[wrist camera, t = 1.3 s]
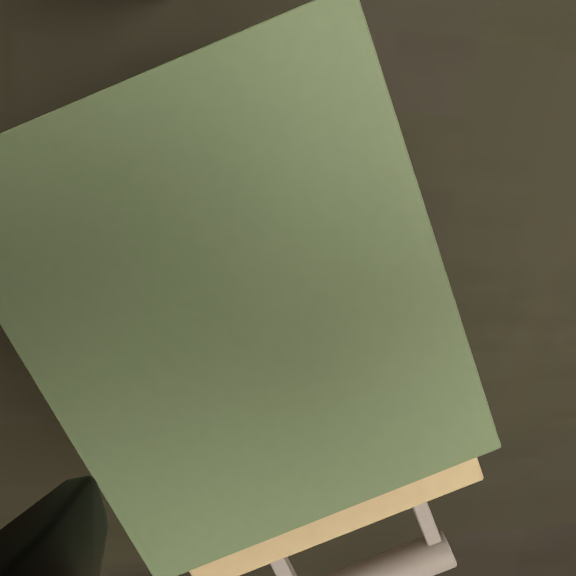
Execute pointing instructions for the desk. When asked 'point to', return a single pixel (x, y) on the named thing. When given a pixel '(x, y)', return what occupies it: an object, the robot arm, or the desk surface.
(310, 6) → the green drawer cabinet
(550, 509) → the desk surface
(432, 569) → the pod drawer
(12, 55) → the desk surface
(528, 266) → the desk surface
